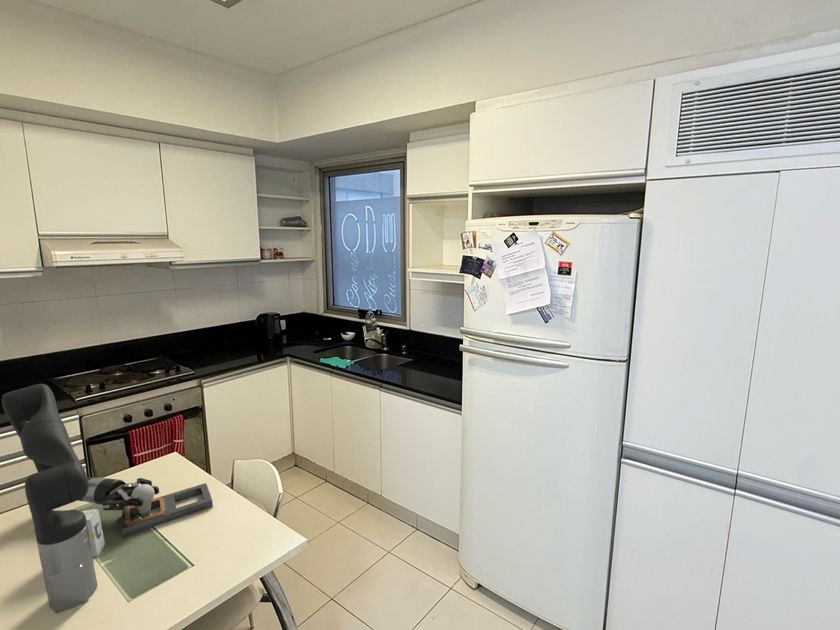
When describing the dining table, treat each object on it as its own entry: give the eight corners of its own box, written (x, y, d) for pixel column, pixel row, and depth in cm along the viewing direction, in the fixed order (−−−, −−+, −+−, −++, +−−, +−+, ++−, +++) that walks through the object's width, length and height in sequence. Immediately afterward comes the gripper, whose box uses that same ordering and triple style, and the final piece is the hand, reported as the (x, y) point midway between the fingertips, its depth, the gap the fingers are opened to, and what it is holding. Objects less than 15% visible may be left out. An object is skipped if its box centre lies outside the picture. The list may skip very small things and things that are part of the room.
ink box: (105, 544, 121) (99, 507, 119) (97, 557, 116) (91, 518, 114) (70, 550, 119) (63, 512, 117) (60, 564, 114) (53, 524, 112)
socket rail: (212, 506, 138) (212, 499, 137) (123, 536, 124) (121, 528, 124) (206, 489, 147) (206, 482, 147) (123, 515, 134) (121, 507, 134)
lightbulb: (129, 522, 130) (124, 489, 128) (147, 510, 136) (143, 478, 134) (144, 526, 129) (140, 493, 127) (162, 513, 134) (158, 481, 132)
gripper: (80, 493, 126) (129, 499, 123) (121, 468, 140) (166, 472, 137) (83, 516, 127) (132, 522, 124) (124, 488, 141) (169, 493, 138)
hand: (150, 496), depth 131 cm, fingers closed on lightbulb, 5 cm apart
